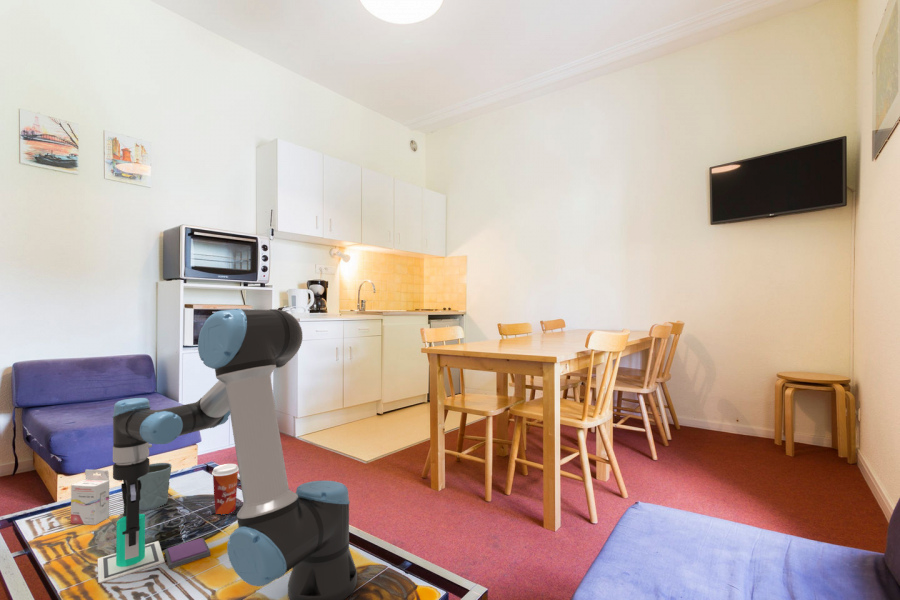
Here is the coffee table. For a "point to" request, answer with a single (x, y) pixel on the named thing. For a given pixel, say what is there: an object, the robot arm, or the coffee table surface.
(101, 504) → the ink cartridge box
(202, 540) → the ink pad
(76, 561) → the coffee table surface
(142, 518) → the candle
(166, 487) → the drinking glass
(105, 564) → the marked card
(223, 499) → the paper cup
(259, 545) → the robot arm
